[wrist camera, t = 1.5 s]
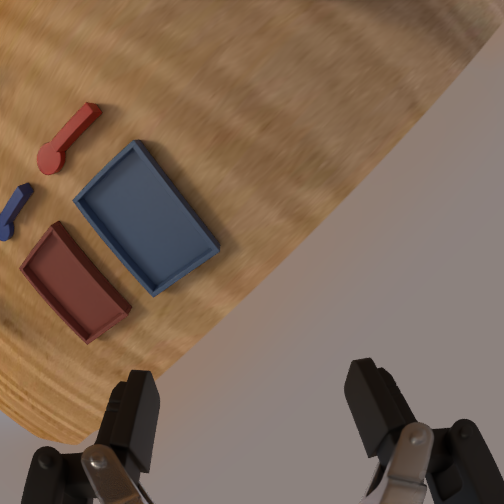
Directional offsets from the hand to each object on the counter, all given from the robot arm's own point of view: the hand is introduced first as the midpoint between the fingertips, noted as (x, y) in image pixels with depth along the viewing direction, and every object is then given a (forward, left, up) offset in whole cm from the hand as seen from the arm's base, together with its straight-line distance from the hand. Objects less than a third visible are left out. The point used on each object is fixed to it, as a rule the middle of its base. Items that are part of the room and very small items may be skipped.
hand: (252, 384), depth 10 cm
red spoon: (-20, -11, -23) cm, 32 cm away
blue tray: (-6, -9, -23) cm, 26 cm away
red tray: (-6, -24, -23) cm, 34 cm away
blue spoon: (-20, -25, -23) cm, 39 cm away
